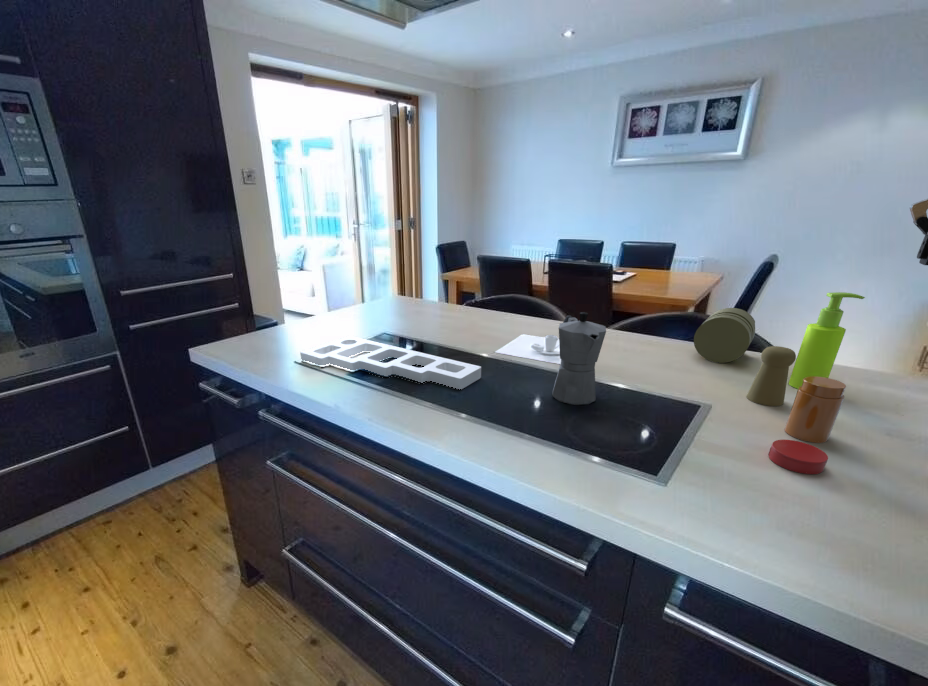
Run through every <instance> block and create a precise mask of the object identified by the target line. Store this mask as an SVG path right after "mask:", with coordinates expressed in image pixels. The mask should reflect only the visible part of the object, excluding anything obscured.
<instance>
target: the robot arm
mask: <svg viewBox="0 0 928 686" xmlns="http://www.w3.org/2000/svg"><path fill="white" fill-rule="evenodd" d="M909 211H910V215H911V218H912V220H913V224H914V225H915V226H916V227H917V228H918V230H919V231H921V233H922V235H924V237H923V240H922V242H921V244H920V246H919V249H918V251H917V253H916V259H919V264H920V265H923V266H928V215H927V214H928V213H927V211H928V198H926V199H922V200H920V201H917V202H914V203H912V204H910V206H909Z"/></svg>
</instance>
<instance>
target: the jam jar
mask: <svg viewBox="0 0 928 686" xmlns="http://www.w3.org/2000/svg"><path fill="white" fill-rule="evenodd" d="M846 388H847V385H846V384H845V383H844V382H842V381H839V380H837V379H833V378H830V377H829V378H825V377H817V376H810V377H805V378H804V379H803V384H802V386H800V387H799V388H798V389H797V392H796V395H795V397H794V401H793V403H792V406H791V409H790V412H789V415H788V418H787V421H786V423H785V427H784V432H785V433H786V434H787V435H789V436H790V437H793V438H795V439H798V440H801V441H803V442H808V443H814V444H816V443H817V444H821V443H822V444H823V443H826V442H828V441H829V438H830V436H831V433H832V431H833V428H834V426H835V423H836V420H837V418H838V415H839V414H840V410H841V408H842V406H843V403H844V400H845V391H846Z"/></svg>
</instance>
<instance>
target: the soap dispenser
mask: <svg viewBox="0 0 928 686" xmlns="http://www.w3.org/2000/svg"><path fill="white" fill-rule="evenodd" d="M826 297H829V298H830V299H829V302H828V304H827V307H823V308H821V309H820V311H819V315H818V318H817V321H816V323H809V324H807V326H806V329H805V332H804V335H803V338H802V341H801V344H800V347H799V349H798V353H797V355H796V359H795V361H794V365H793V368H792V371H791V373H790V374H791V375H790V377H789V380H788V385H789V386H790V387H792V388H794V389H797V390H798V388H799V387H800V386H802V384H803V379H804V378H805V377H810V376H817V377H825V378H830V375H831V372H832V369H833V366H834V364H835V361H836V358H837V355H838V353H839V350H840V347H841V345H842V342H843V339H844V337H845V334H846V331H847V329H846V328H845V327H842V326H840V323H841V320H842V317H843V315H844V310H843V309H841V308H840V307H841V304H842V301H843V298H853V299H859V300H864V299H866V297H865V296H863V295H860V294H858V293H852V292H845V291H844V292H841V291H838V292H837V291H836V292H827V293H826Z"/></svg>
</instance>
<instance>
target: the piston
mask: <svg viewBox="0 0 928 686" xmlns="http://www.w3.org/2000/svg"><path fill="white" fill-rule="evenodd" d="M755 334H756V320H755V319H754V317H753V316H752V315H751V314H750V313H749V312H748V311H746V310H744V309H742V308H737V307H725V308H721V309H719V310H716V311H715V312H713V313H712V314H710V315H709V317H707V319H705V320H704V321H703V322H702V323H701V324H700V325H699V327H698V328H697V329H696V331H695V332H694V336H693V344H694V349H695V350H696V352H697V354H699V356H700V357H702V358H703V359H705V360H707V361H709V362H712V361H713V363H717V362H719V364H724V363H730V362H733V361H736V360H738V359H739V358H741V357H742V356H743V355H744V354H746V352H747V350H748V349H749V347H750V345H751V343H752V341H753V340H754V337H755Z"/></svg>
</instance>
